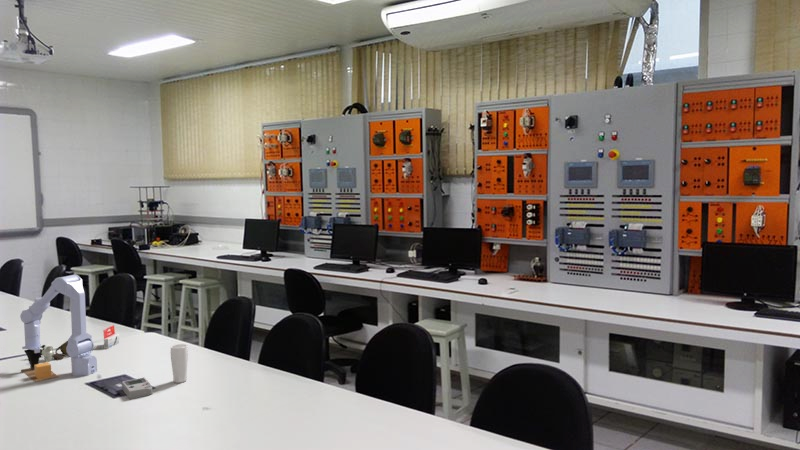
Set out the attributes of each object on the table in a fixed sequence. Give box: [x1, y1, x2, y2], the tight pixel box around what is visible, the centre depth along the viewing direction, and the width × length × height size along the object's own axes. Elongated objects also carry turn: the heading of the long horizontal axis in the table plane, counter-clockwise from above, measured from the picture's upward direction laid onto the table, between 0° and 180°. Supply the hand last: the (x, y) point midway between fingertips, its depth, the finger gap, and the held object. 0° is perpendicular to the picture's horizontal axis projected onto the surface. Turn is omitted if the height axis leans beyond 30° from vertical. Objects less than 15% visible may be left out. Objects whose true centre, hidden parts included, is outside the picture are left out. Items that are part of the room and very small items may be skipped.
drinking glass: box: [170, 343, 189, 384], centre depth 246 cm, size 7×7×15 cm
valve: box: [39, 344, 55, 363], centre depth 279 cm, size 7×7×12 cm
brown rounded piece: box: [53, 340, 70, 360], centre depth 285 cm, size 7×13×10 cm
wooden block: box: [20, 361, 60, 383], centre depth 254 cm, size 24×9×7 cm, turn 45°
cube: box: [34, 362, 52, 379], centre depth 250 cm, size 5×5×5 cm
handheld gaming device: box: [121, 377, 153, 400], centre depth 234 cm, size 9×14×4 cm, turn 36°
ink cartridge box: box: [102, 325, 120, 350], centre depth 302 cm, size 2×11×10 cm, turn 179°
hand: (33, 365), depth 260 cm, fingers closed on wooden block, 2 cm apart
